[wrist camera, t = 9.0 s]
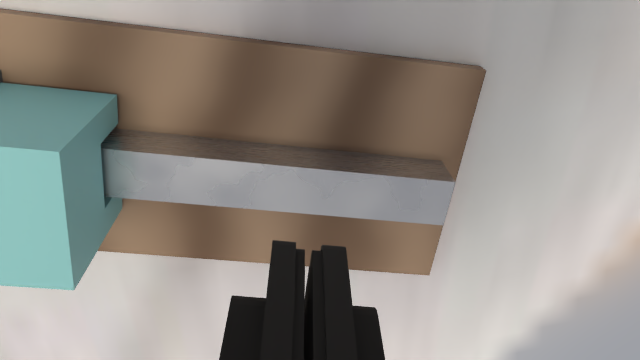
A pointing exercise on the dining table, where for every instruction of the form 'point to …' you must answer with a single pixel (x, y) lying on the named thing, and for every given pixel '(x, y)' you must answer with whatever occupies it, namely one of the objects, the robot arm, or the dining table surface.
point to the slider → (52, 183)
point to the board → (254, 125)
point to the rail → (274, 177)
